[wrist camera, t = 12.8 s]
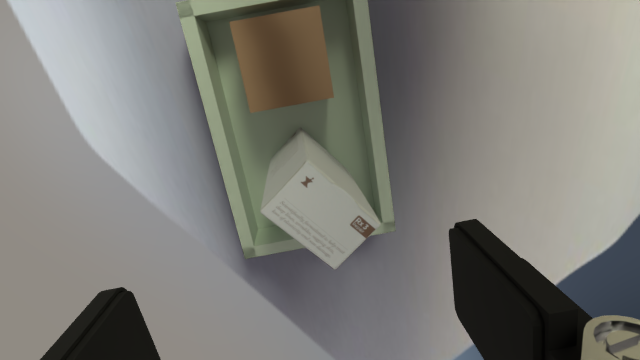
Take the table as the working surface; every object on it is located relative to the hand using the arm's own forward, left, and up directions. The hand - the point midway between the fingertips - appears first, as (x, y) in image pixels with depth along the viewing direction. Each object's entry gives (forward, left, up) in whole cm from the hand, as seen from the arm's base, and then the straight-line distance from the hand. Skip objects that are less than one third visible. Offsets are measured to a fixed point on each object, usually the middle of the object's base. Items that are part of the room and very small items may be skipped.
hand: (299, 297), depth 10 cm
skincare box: (-1, +2, -22) cm, 22 cm away
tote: (0, -2, -22) cm, 22 cm away
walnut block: (0, -7, -22) cm, 23 cm away
